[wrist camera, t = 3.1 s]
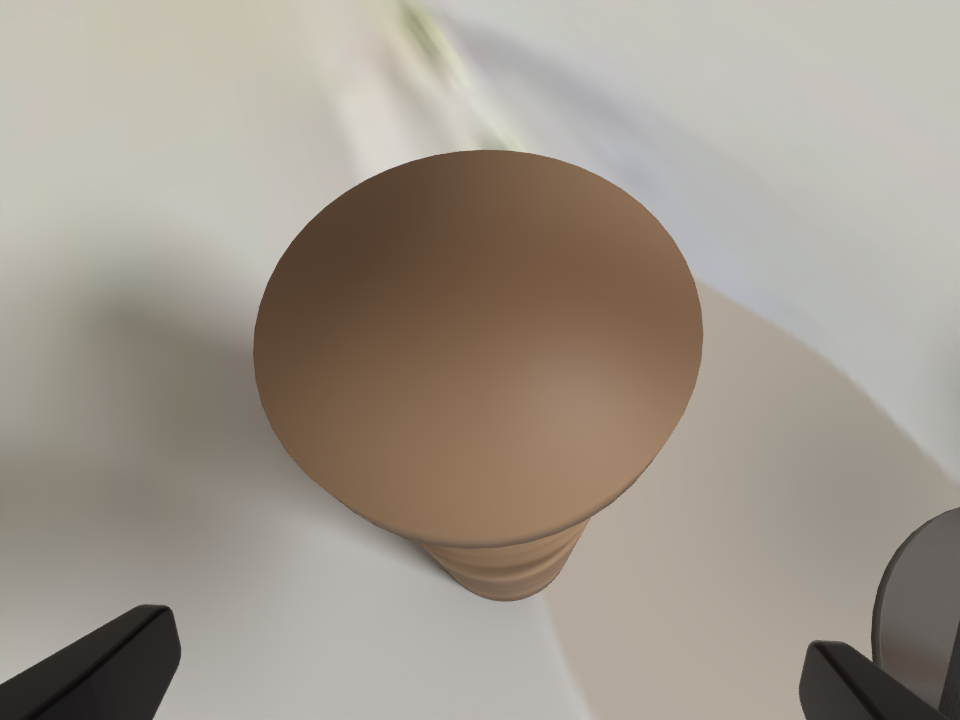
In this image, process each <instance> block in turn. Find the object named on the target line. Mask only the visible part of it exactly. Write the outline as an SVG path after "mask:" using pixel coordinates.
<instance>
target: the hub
mask: <svg viewBox="0 0 960 720" xmlns="http://www.w3.org/2000/svg"><path fill="white" fill-rule="evenodd" d="M871 643H872V659H873V663H874V664H876V665H877V666H878V667H880V668H881V669H882V670H884V671H885V672H886V673H888V674H889V675H890V676H892V677H893V678H895V679H896V680H897V681H899V682H900V683H901V684H903V685H904V686H905V687H907V688H908V689H909V690H911V691H912V692H913V693H915V694H916V695H917V696H919V697H920V698H921V699H923V700H924V701H926V702H927V703H928V704H930V705H931V706H932V707H934V708H935V709H936V710H938V711H939V712H940V713H942V714H943V715H944V716H946V717H947V718H948V719H950V720H960V507H959V508H956V509H953V510H949V511H946V512H944V513H942V514H941V515H939V516H937V517H935V518H933V519H931V520H929V521H927V522H926V523H925V524H923V525H922V526H921V527H919V528H918V529H917V530H916V531H914V532H913V533H912V534H911V535H910V536H909V537H908V538H907V539H906V540H905V541H904V542H903V543H902V545H901V546H900V547H899V548H898V549H897V551H896V552H895V554H894V555H893V557H892V559H891V560H890V562H889V564H888V565H887V567H886V569H885V572H884V574H883V577H882V579H881V582H880V584H879V587H878V590H877V595H876V599H875V604H874V608H873V616H872V632H871Z"/></svg>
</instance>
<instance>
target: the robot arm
mask: <svg viewBox="0 0 960 720" xmlns="http://www.w3.org/2000/svg"><path fill="white" fill-rule="evenodd" d="M180 658H181V645H180V640H179V636H178V632H177V628H176V623H175V619H174V615H173V612H172V610H171V609H170V608H169V607H168V606H165V605H149V604H144V605H139V606H137V607H135V608H133V609H131V610H130V611H128V612H126V613H124V614H123V615H121V616H119V617H117V618H116V619H114V620H112V621H110V622H109V623H107V624H105V625H103V626H102V627H100V628H98V629H96V630H95V631H93V632H91V633H90V634H88V635H86V636H84V637H83V638H81V639H79V640H77V641H76V642H74V643H72V644H70V645H69V646H67V647H65V648H63V649H62V650H60V651H58V652H56V653H55V654H53V655H51V656H49V657H48V658H46V659H44V660H42V661H41V662H39V663H37V664H36V665H34V666H32V667H30V668H29V669H27V670H25V671H23V672H22V673H20V674H18V675H16V676H15V677H13V678H11V679H9V680H8V681H6V682H4V683H2V684H1V685H0V720H153V718H154V716H155V714H156V712H157V709H158V707H159V705H160V703H161V701H162V699H163V697H164V695H165V693H166V691H167V689H168V687H169V685H170V682H171V680H172V678H173V676H174V674H175V672H176V670H177V668H178V665H179V662H180ZM799 697H800V702H801V706H802V709H803V712H804V714H805V718H806V720H950V719H948V718H947V717H946V716H944V715H943V714H942V713H940V712H939V711H938V710H936V709H935V708H934V707H932V706H931V705H930V704H928V703H927V702H926V701H924V700H923V699H921V698H920V697H919V696H917V695H916V694H915V693H913V692H912V691H911V690H909V689H908V688H907V687H905V686H904V685H903V684H901V683H900V682H899V681H897V680H896V679H895V678H893V677H892V676H890V675H889V674H888V673H886V672H885V671H884V670H882V669H881V668H880V667H878V666H877V665H876V664H874V663H873V662H872V661H870V660H869V659H868V658H866V657H865V656H864V655H862V654H861V653H860V652H858V651H857V650H855V649H854V648H853V647H851V646H850V645H848V644H846V643H844V642H837V641H820V640H816V641H812V642H811V643H810V644H809V646H808V649H807V652H806V657H805V662H804V666H803V670H802V675H801V679H800V685H799Z"/></svg>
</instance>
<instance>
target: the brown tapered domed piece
mask: <svg viewBox="0 0 960 720" xmlns="http://www.w3.org/2000/svg"><path fill="white" fill-rule="evenodd" d="M702 343H703V326H702V314H701V306H700V302H699V298H698V294H697V290H696V286H695V282H694V280H693V277H692V275H691V272H690V270H689V267H688V265H687V263H686V260H685V259H684V257H683V255H682V253H681V252H680V250H679V248H678V247H677V245H676V243H675V242H674V240H673V239H672V237H671V236H670V235H669V233H668V232H667V231H666V230H665V228H664V227H663V226H662V225H661V223H660V222H659V221H658V220H657V219H656V218H655V217H654V216H653V215H652V214H651V213H650V212H649V211H648V210H647V209H646V208H645V207H644V206H643V205H642V204H641V203H639V202H638V201H637V200H635V199H634V198H633V197H632V196H630V195H629V194H628V193H626V192H625V191H624V190H622V189H621V188H619V187H617V186H616V185H614V184H612V183H611V182H609V181H607V180H606V179H604V178H602V177H601V176H598V175H596V174H594V173H592V172H589V171H587V170H585V169H583V168H581V167H578V166H575V165H572V164H569V163H566V162H563V161H560V160H557V159H554V158H549V157H545V156H540V155H536V154H531V153H523V152H515V151H503V150H475V151H459V152H453V153H446V154H440V155H434V156H430V157H426V158H422V159H419V160H415V161H411V162H408V163H405V164H402V165H400V166H397V167H394V168H391V169H388V170H386V171H384V172H382V173H380V174H378V175H376V176H373V177H371V178H369V179H367V180H365V181H364V182H362V183H360V184H359V185H357V186H355V187H353V188H352V189H350V190H348V191H347V192H345V193H344V194H342V195H341V196H340V197H338V198H337V199H336V200H334V201H333V202H332V203H330V204H329V205H328V206H326V207H325V208H324V209H323V210H322V211H321V212H320V213H319V214H318V215H316V216H315V217H314V218H313V219H312V220H311V221H310V222H309V223H308V224H307V225H306V226H305V227H304V229H303V230H302V231H301V232H300V233H299V234H298V235H297V237H296V238H295V239H294V240H293V241H292V243H291V244H290V246H289V247H288V248H287V250H286V251H285V253H284V254H283V256H282V257H281V259H280V260H279V262H278V264H277V266H276V268H275V270H274V272H273V274H272V275H271V277H270V279H269V281H268V284H267V286H266V289H265V292H264V295H263V298H262V300H261V303H260V306H259V311H258V316H257V321H256V326H255V333H254V351H253V357H254V367H255V378H256V383H257V387H258V391H259V394H260V398H261V402H262V406H263V408H264V410H265V413H266V415H267V417H268V419H269V422H270V424H271V426H272V429H273V431H274V432H275V434H276V435H277V437H278V438H279V440H280V441H281V443H282V445H283V446H284V448H285V449H286V451H287V452H288V454H289V455H290V456H291V457H292V458H293V459H294V460H295V462H296V463H297V464H298V465H299V466H300V467H301V468H302V469H303V471H304V472H305V473H306V474H307V475H308V476H309V477H310V478H312V479H313V480H314V481H315V482H317V483H318V484H319V485H320V486H321V487H323V488H324V489H325V490H326V491H328V492H329V493H330V494H331V495H332V496H334V497H335V498H336V499H338V500H339V501H340V502H341V503H343V504H344V505H345V506H346V507H348V508H349V509H350V510H351V511H353V512H354V513H356V514H358V515H359V516H361V517H363V518H364V519H366V520H368V521H369V522H371V523H373V524H374V525H376V526H378V527H380V528H383V529H385V530H387V531H390V532H392V533H395V534H397V535H399V536H402V537H404V538H408V539H411V540H415V541H418V542H419V543H420V544H421V545H422V546H423V547H424V548H425V549H426V550H427V551H428V552H429V553H430V554H431V555H432V556H433V557H434V558H435V559H436V560H437V561H438V562H439V563H440V564H441V565H442V566H443V567H444V568H445V569H446V570H447V571H448V572H449V573H450V574H451V575H452V576H453V577H454V578H455V579H456V580H457V581H458V582H459V583H460V584H461V585H462V586H464V587H465V588H466V589H467V590H469V591H471V592H472V593H474V594H476V595H478V596H481V597H483V598H486V599H490V600H495V601H515V600H521V599H524V598H527V597H530V596H532V595H534V594H536V593H538V592H540V591H541V590H543V589H544V588H546V587H547V586H548V585H549V584H550V583H551V582H552V581H553V580H554V579H555V578H556V576H557V575H558V574H559V572H560V571H561V569H562V567H563V566H564V564H565V562H566V561H567V559H568V557H569V555H570V553H571V552H572V550H573V548H574V546H575V545H576V543H577V541H578V539H579V537H580V536H581V534H582V532H583V530H584V528H585V527H586V525H587V523H588V521H589V519H590V518H591V517H592V516H593V515H595V514H596V513H598V512H599V511H601V510H602V509H604V508H605V507H607V506H608V505H610V504H611V503H612V502H614V501H615V500H616V499H617V498H618V497H619V496H620V495H622V493H624V492H625V491H626V490H627V489H628V488H629V487H631V486H632V484H634V482H635V481H636V480H637V479H638V478H639V476H640V475H641V474H642V473H643V472H644V470H645V469H646V468H647V467H648V466H649V465H650V463H651V462H652V461H653V459H654V458H655V457H656V455H657V454H658V453H659V451H660V450H661V448H662V447H663V446H664V444H665V443H666V441H667V440H668V439H669V437H670V435H671V434H672V432H673V430H674V429H675V427H676V426H677V424H678V422H679V421H680V419H681V417H682V416H683V414H684V411H685V409H686V407H687V405H688V402H689V400H690V397H691V395H692V393H693V390H694V388H695V384H696V380H697V376H698V371H699V367H700V362H701V356H702Z"/></svg>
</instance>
